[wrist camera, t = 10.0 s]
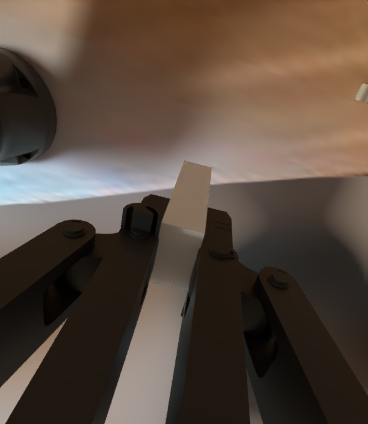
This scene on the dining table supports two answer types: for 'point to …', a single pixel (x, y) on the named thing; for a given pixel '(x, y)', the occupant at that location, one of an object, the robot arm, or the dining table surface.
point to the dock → (362, 93)
